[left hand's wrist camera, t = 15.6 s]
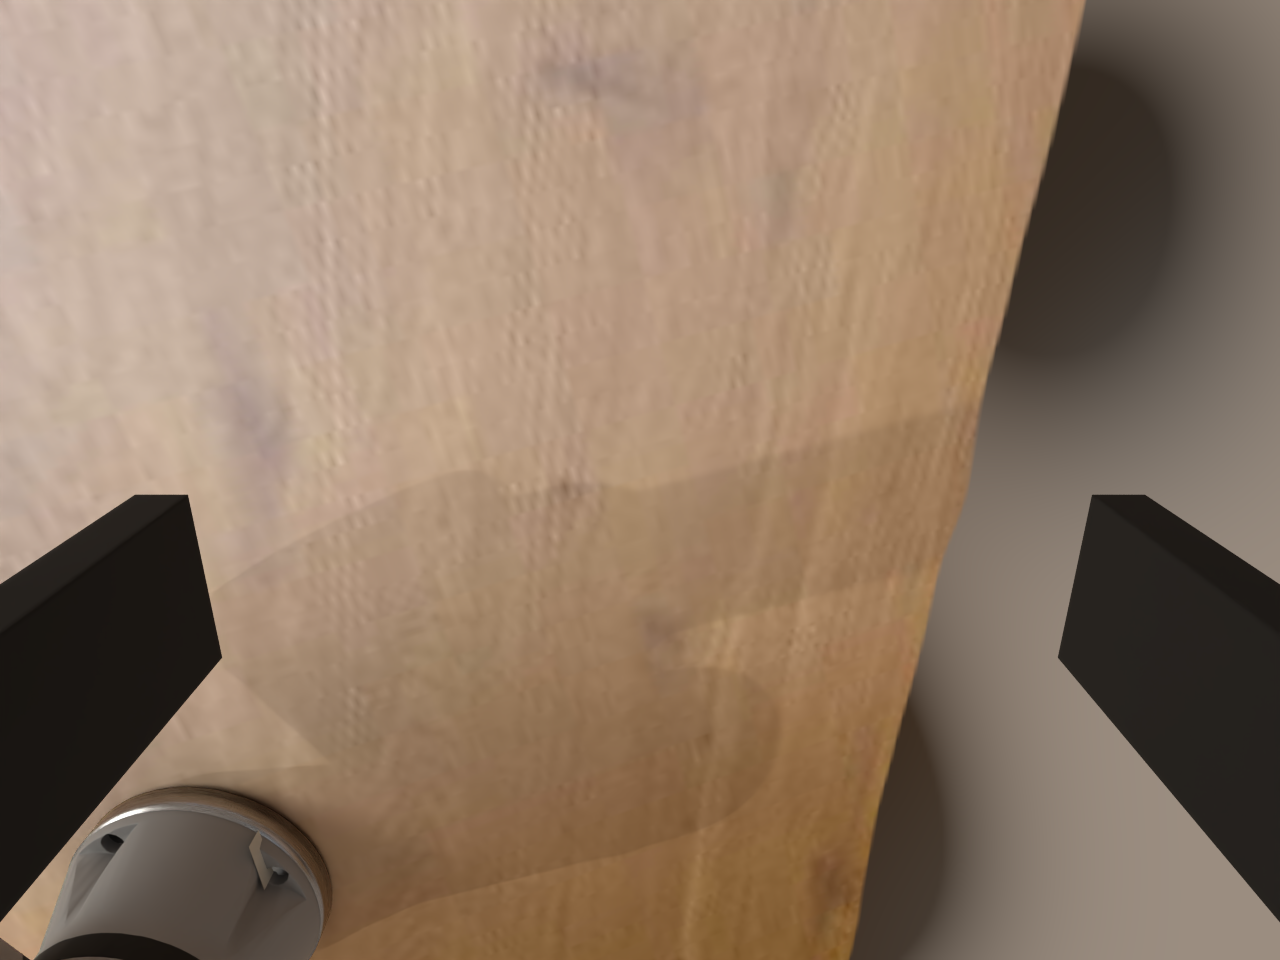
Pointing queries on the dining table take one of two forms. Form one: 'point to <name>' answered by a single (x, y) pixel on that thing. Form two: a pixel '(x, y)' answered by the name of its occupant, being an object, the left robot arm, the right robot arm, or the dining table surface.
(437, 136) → the dining table surface
